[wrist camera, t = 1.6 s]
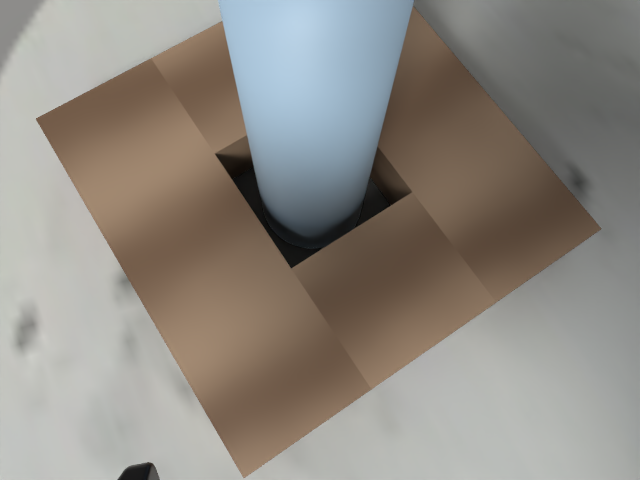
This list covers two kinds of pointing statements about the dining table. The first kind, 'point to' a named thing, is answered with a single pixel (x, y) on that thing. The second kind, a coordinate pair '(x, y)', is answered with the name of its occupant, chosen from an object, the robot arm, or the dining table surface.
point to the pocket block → (327, 264)
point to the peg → (314, 104)
